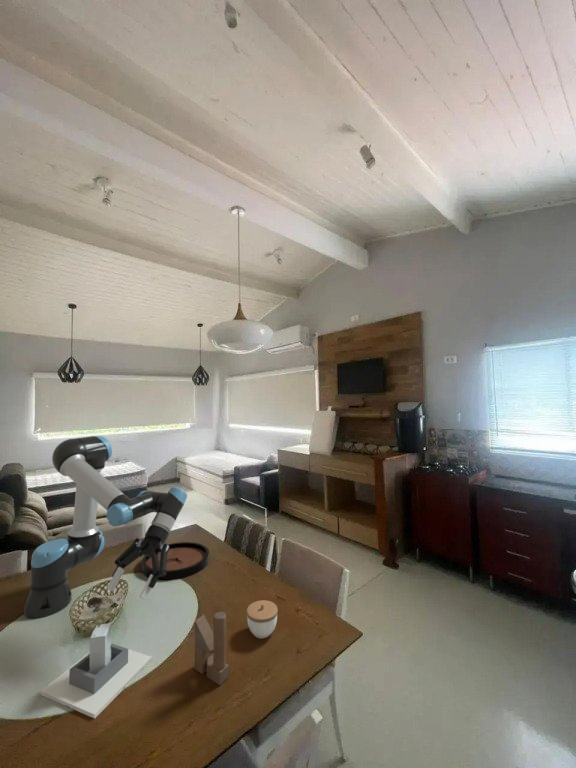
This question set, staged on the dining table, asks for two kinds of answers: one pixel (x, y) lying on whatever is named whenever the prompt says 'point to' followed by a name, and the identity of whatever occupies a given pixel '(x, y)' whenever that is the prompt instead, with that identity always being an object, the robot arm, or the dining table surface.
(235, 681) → the dining table surface
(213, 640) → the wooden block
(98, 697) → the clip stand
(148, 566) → the wall clock
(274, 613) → the lidded jar
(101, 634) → the skincare box
